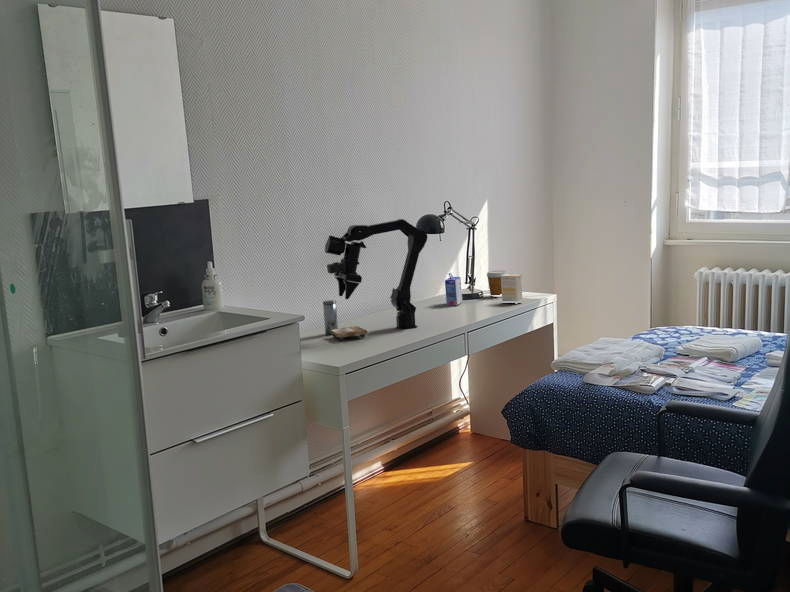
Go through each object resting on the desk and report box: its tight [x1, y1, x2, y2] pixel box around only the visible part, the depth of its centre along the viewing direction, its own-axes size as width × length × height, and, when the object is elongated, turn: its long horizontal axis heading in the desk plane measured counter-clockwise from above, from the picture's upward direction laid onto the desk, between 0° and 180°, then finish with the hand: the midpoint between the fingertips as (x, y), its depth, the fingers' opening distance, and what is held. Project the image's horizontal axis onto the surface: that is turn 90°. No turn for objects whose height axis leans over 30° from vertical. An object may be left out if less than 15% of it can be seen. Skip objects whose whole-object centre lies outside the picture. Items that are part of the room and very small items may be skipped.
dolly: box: [330, 325, 368, 342], centre depth 286 cm, size 11×11×3 cm
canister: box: [322, 299, 339, 336], centre depth 295 cm, size 5×5×13 cm
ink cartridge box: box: [444, 272, 463, 306], centre depth 347 cm, size 10×6×14 cm, turn 161°
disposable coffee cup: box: [486, 270, 507, 296], centre depth 361 cm, size 10×10×12 cm
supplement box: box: [501, 273, 523, 301], centre depth 340 cm, size 8×5×13 cm, turn 49°
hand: (343, 297), depth 291 cm, fingers open, 9 cm apart
